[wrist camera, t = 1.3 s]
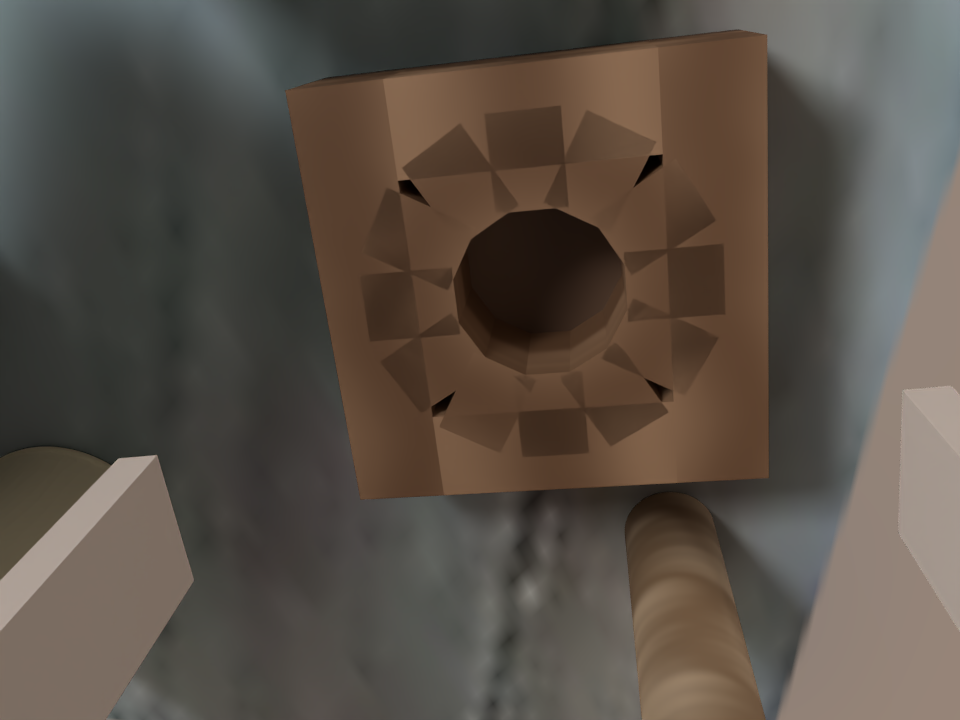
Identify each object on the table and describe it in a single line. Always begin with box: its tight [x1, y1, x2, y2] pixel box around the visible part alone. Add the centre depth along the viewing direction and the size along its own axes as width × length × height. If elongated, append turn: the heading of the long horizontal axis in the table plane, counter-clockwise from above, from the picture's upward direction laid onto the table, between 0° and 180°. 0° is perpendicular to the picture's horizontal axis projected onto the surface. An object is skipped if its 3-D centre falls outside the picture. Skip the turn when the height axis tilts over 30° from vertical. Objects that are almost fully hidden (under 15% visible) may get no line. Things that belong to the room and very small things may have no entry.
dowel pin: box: [625, 492, 766, 720], centre depth 32 cm, size 4×4×12 cm
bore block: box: [285, 30, 769, 500], centre depth 31 cm, size 14×14×5 cm
